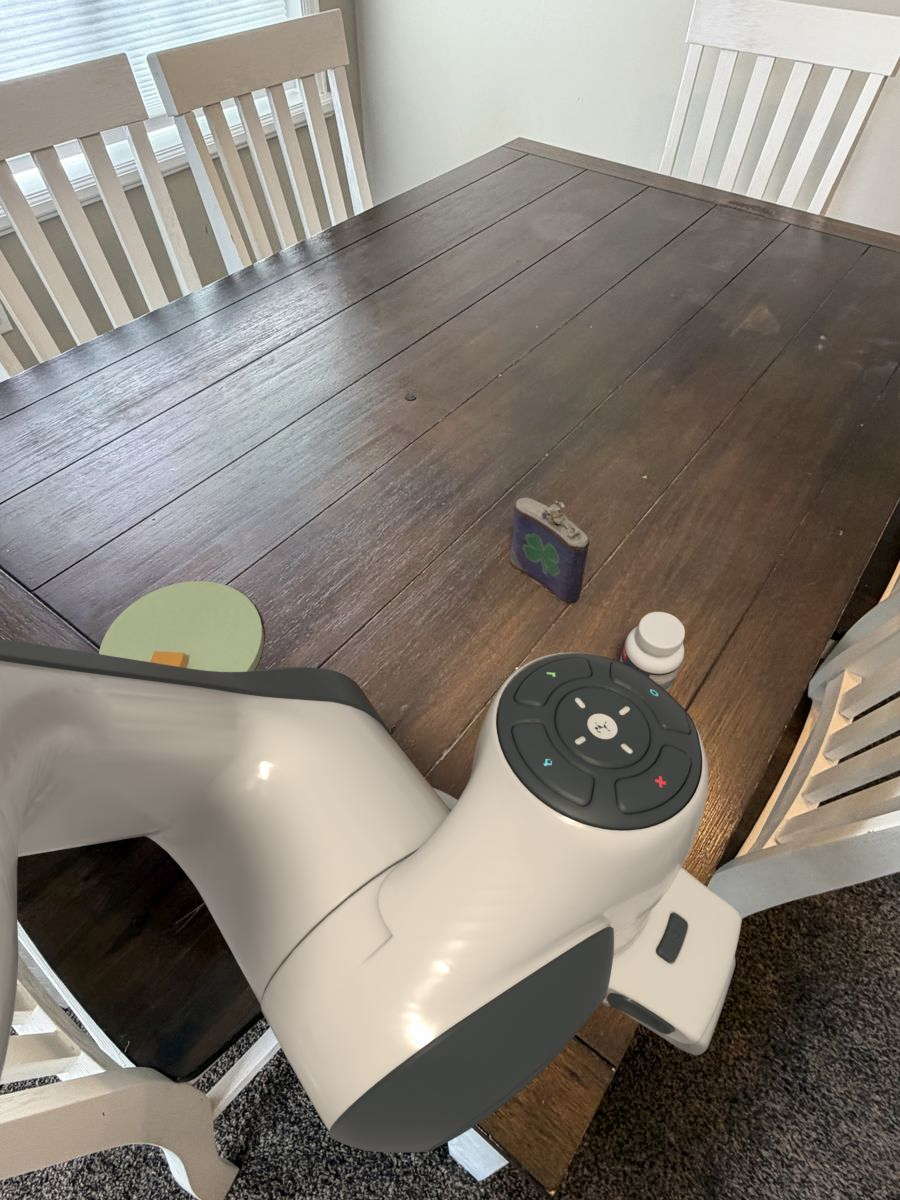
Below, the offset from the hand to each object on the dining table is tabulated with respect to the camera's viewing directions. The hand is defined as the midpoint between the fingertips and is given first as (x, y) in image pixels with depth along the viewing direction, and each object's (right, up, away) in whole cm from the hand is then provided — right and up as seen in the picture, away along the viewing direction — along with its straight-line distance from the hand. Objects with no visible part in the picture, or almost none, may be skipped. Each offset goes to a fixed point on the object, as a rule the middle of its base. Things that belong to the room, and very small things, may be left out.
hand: (535, 945), depth 47 cm
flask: (+5, +25, +32) cm, 40 cm away
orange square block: (-33, +15, +23) cm, 43 cm away
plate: (-32, +17, +26) cm, 45 cm away
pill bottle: (+13, +14, +23) cm, 30 cm away
